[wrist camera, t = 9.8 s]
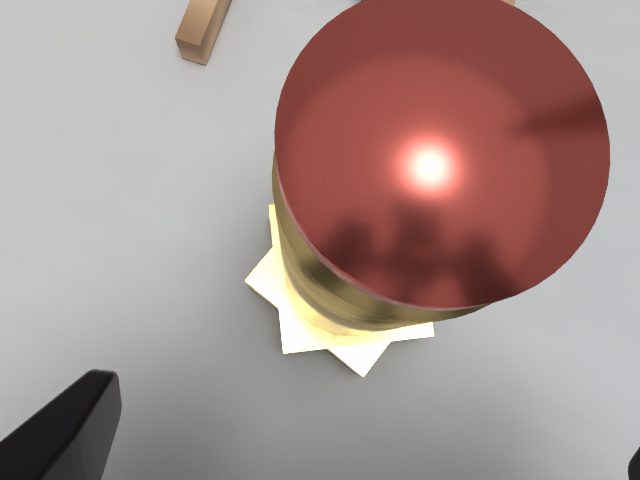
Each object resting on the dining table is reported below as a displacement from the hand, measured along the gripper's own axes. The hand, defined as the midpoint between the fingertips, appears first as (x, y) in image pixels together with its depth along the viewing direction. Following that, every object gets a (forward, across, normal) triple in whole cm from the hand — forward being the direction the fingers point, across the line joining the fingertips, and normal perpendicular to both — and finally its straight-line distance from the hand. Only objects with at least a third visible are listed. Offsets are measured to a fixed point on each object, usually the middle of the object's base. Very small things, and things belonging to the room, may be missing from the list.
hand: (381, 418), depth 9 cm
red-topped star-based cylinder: (+11, 0, +5) cm, 12 cm away
